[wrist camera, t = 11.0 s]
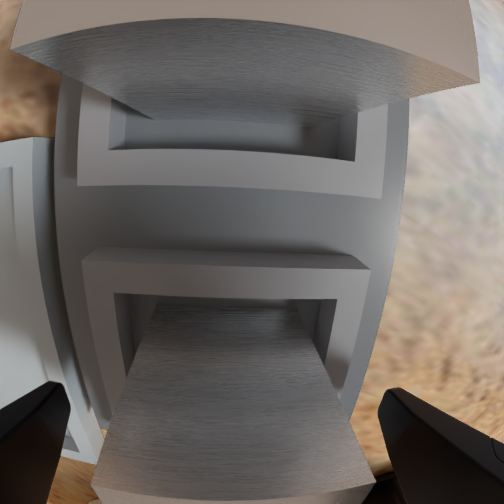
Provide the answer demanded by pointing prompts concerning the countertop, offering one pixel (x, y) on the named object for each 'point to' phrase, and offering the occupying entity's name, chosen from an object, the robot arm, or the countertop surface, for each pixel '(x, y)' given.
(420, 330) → the countertop surface
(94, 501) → the ramekin
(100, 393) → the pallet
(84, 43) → the block
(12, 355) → the square outline frame
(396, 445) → the robot arm
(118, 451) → the block
